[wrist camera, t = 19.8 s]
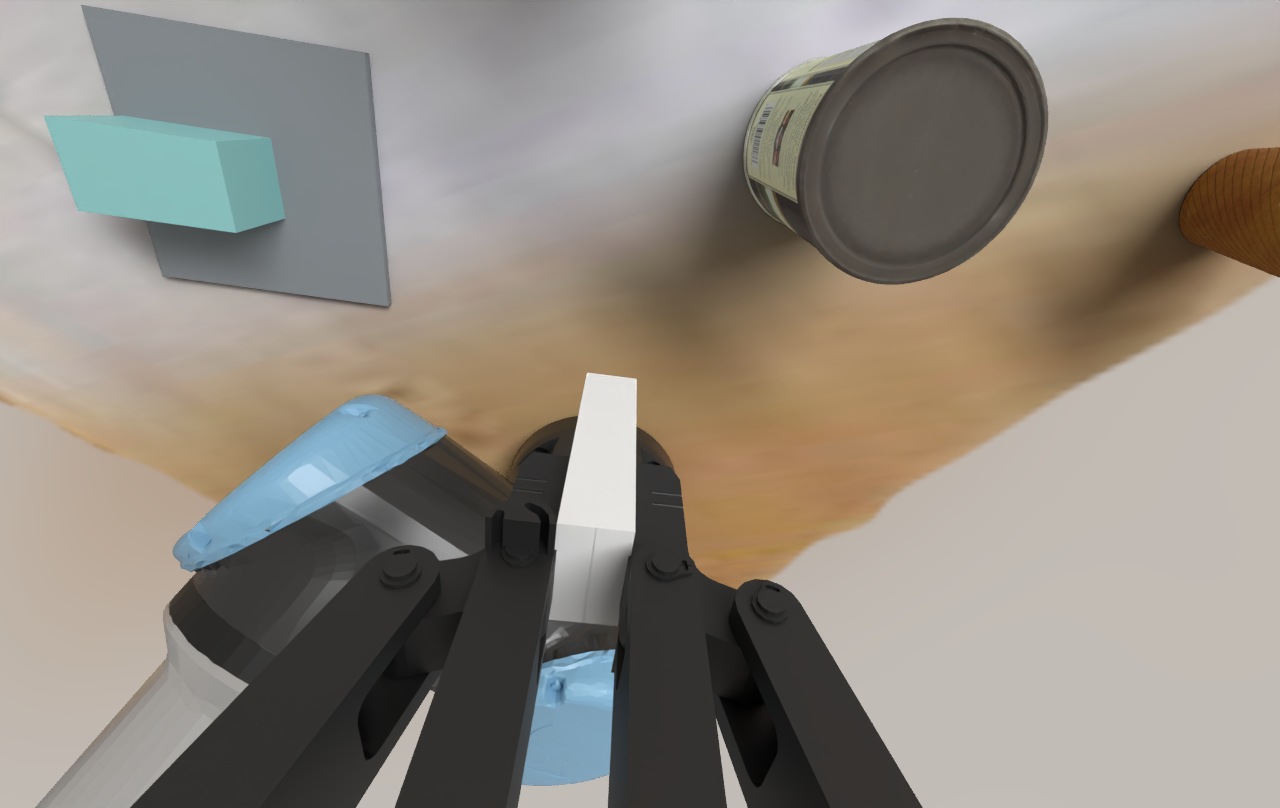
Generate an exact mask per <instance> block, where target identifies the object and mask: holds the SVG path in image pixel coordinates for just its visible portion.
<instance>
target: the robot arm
mask: <svg viewBox="0 0 1280 808" xmlns="http://www.w3.org/2000/svg"><path fill="white" fill-rule="evenodd" d="M636 398H637V379H633V378H625V377H617V376H610V375H602V374H594V373H587V376H586V381H585V386H584V390H583V395H582V400H581V405H580V410H579V415H578V416H577V417H571V418H566V419H563V420H559V421H556V422H554V423H551V424H549V425H547V426H545V427H544V428H542V429H540V430H539V431H537V432H536V433H535V434H533V435H532V436H531V437H530V438H529V439H528V440H527V441H526V442H525V443H524V444H523V446H522V447H521V449H520V450H519V452H518V454H517V456H516V458H515V460H514V463H513V466H512V469H511V471H510V474H509V478H508V479H506V478H505V477H504V476H502V475H501V474H499V473H498V472H497V471H495V470H494V469H492V468H491V467H490V466H488V465H487V464H486V463H484V462H483V461H481V460H480V459H479V458H477V457H476V456H474V455H473V454H472V453H470V452H469V451H467V450H466V449H465V448H463V447H462V446H461V445H459V444H458V443H456V442H455V441H454V440H452V439H451V438H449V437H448V436H447V435H445V434H447V433H448V431H447V430H445V429H444V428H443V427H435V426H434V425H432V424H430V423H429V422H427V421H426V420H424V419H423V418H421V417H420V416H418V415H417V414H415V413H414V412H412V411H410V410H409V409H407V408H406V407H404V406H403V405H401V404H400V403H398V402H397V401H395V400H393V399H391V398H389V397H385V396H382V395H364V396H360V397H356V398H354V399H352V400H350V401H348V402H346V403H344V404H343V405H341V406H340V407H338V408H337V409H335V410H334V411H332V412H331V413H330V414H328V415H327V416H326V417H324V418H323V419H321V420H320V421H319V422H318V423H316V424H315V425H314V426H312V427H311V428H310V429H308V430H307V431H306V432H304V433H303V434H302V435H301V436H299V437H298V438H297V439H295V440H294V441H293V442H292V443H290V444H289V445H288V446H287V447H285V448H284V449H283V450H282V451H280V452H279V453H278V454H277V455H275V456H274V457H273V458H272V459H270V460H269V461H268V462H267V463H266V464H264V465H263V466H262V467H261V468H259V469H258V470H257V471H256V472H255V473H253V474H252V475H251V476H250V477H249V478H247V479H246V480H245V481H244V482H243V483H242V484H240V485H239V486H238V487H237V488H236V489H234V490H233V491H232V492H231V493H230V494H229V495H227V496H226V497H225V498H224V499H223V500H222V501H220V502H219V503H218V504H217V505H216V506H215V507H214V508H213V509H212V510H210V512H208V513H207V514H206V516H205V517H204V518H203V519H201V520H200V521H199V522H198V523H197V524H196V526H195V527H194V528H193V529H192V530H190V531H188V532H187V533H186V534H184V535H183V536H182V537H181V538H180V539H179V540H178V541H177V543H176V544H175V546H174V548H173V555H174V557H175V558H176V559H177V560H179V561H180V566H181V568H183V569H186V570H188V571H190V572H192V571H196V574H195V575H194V576H193V577H192V578H191V579H190V580H189V581H188V583H186V585H185V586H184V587H183V588H182V589H181V590H180V591H179V592H178V593H177V594H176V595H175V597H174V598H173V599H172V600H171V601H170V602H169V604H167V606H166V608H165V609H164V612H163V622H164V629H165V635H166V642H167V649H168V653H167V657H166V659H165V660H164V662H163V663H162V664H161V665H160V666H159V667H158V668H157V670H156V671H155V672H154V673H153V674H152V675H151V676H150V677H149V679H148V680H147V681H146V682H145V683H144V684H143V685H142V687H141V688H140V689H139V690H138V691H137V692H136V693H135V695H134V696H133V697H132V698H131V699H130V700H129V701H128V702H127V704H126V705H125V706H124V707H123V708H122V709H121V710H120V712H119V713H118V714H117V715H116V716H115V717H114V718H113V720H112V721H111V722H110V723H109V724H108V725H107V726H106V728H105V729H104V730H103V731H102V732H101V733H100V734H99V736H98V737H97V738H96V739H95V740H94V741H93V742H92V743H91V745H90V746H89V747H88V748H87V749H86V750H85V751H84V753H83V754H82V755H81V756H80V757H79V758H78V759H77V761H76V762H75V763H74V764H73V765H72V766H71V767H70V768H69V770H68V771H67V772H66V773H65V774H64V775H63V776H62V778H61V779H60V780H59V781H58V782H57V783H56V784H55V786H54V787H53V788H52V789H51V790H50V791H49V793H48V794H47V795H46V796H45V797H44V798H43V799H42V800H41V801H40V803H39V804H38V805H37V806H36V807H35V808H356V806H357V805H358V803H359V802H360V800H361V798H362V797H363V795H364V794H365V792H366V790H367V789H368V787H369V786H370V784H371V783H372V781H373V779H374V778H375V776H376V775H377V773H378V771H379V770H380V768H381V767H382V765H383V764H384V762H385V760H386V759H387V757H388V756H389V754H390V752H391V751H392V749H393V748H394V746H395V745H396V743H397V741H398V740H399V738H400V736H401V735H402V733H403V732H404V730H405V729H406V727H407V725H408V724H409V722H410V721H411V719H412V718H413V716H414V714H415V713H416V711H417V709H418V708H419V706H420V705H421V703H422V701H423V700H424V698H425V697H426V695H427V694H428V692H429V690H432V691H434V692H435V694H434V697H433V700H432V703H431V705H430V708H429V711H428V714H427V717H426V720H425V722H424V725H423V728H422V731H421V734H420V737H419V740H418V742H417V745H416V748H415V751H414V754H413V757H412V760H411V763H410V765H409V769H408V771H407V774H406V777H405V780H404V783H403V786H402V788H401V791H400V794H399V797H398V800H397V803H396V805H395V808H517V807H518V801H519V795H520V790H521V785H533V786H551V785H563V784H573V783H578V782H584V781H588V780H593V779H596V778H600V777H603V776H606V775H609V796H608V808H727V804H726V796H725V789H724V781H723V772H722V764H721V756H720V748H719V740H718V732H717V725H716V719H717V721H718V724H719V727H720V730H721V733H722V736H723V739H724V741H725V744H726V747H727V749H728V753H729V756H730V758H731V761H732V764H733V767H734V770H735V772H736V775H737V778H738V781H739V784H740V787H741V789H742V792H743V795H744V798H745V801H746V803H747V806H748V808H922V806H921V804H920V803H919V801H918V799H917V798H916V796H915V794H914V793H913V791H912V789H911V788H910V786H909V784H908V783H907V781H906V779H905V778H904V776H903V774H902V773H901V771H900V769H899V768H898V766H897V764H896V762H895V761H894V759H893V757H892V756H891V754H890V753H889V751H888V749H887V747H886V746H885V744H884V742H883V741H882V739H881V737H880V736H879V734H878V732H877V731H876V729H875V727H874V726H873V724H872V723H871V721H870V719H869V717H868V716H867V714H866V712H865V711H864V709H863V707H862V706H861V704H860V702H859V701H858V699H857V697H856V696H855V694H854V692H853V691H852V689H851V687H850V686H849V684H848V682H847V680H846V679H845V677H844V676H843V674H842V672H841V670H840V669H839V667H838V665H837V664H836V662H835V660H834V659H833V657H832V655H831V654H830V652H829V650H828V649H827V647H826V645H825V644H824V642H823V640H822V639H821V637H820V635H819V634H818V632H817V631H816V629H815V627H814V625H813V624H812V622H811V620H810V619H809V617H808V615H807V614H806V612H805V611H804V609H803V607H802V605H801V604H800V602H799V601H798V600H797V599H796V597H795V596H794V595H793V594H792V593H791V592H790V591H788V590H787V589H785V588H784V587H783V586H781V585H779V584H777V583H774V582H771V581H768V580H758V579H754V580H751V581H747V582H744V583H743V584H742V585H741V586H740V587H739V588H738V589H737V590H736V589H734V588H731V587H728V586H726V585H723V584H720V583H718V582H716V581H714V580H712V579H710V578H708V577H707V576H705V575H704V574H702V573H701V572H700V571H699V570H698V569H697V568H696V566H695V563H694V561H693V560H692V559H691V558H690V557H689V553H688V547H687V538H686V529H685V520H684V511H683V502H682V497H681V495H682V494H681V485H680V479H679V478H678V477H677V475H676V474H675V471H674V468H673V465H672V463H671V460H670V458H669V456H668V455H667V453H666V452H665V450H664V449H663V448H662V446H661V445H660V444H659V443H658V442H657V441H656V440H655V439H654V438H653V437H651V436H650V435H649V434H647V433H646V432H645V431H643V430H641V429H640V428H638V427H636Z"/></svg>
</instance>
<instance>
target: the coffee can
mask: <svg viewBox="0 0 1280 808" xmlns="http://www.w3.org/2000/svg"><path fill="white" fill-rule="evenodd" d="M1047 131H1048V105H1047V97H1046V93H1045V88H1044V84H1043V80H1042V78H1041V75H1040V73H1039V70H1038V68H1037V66H1036V65H1035V63H1034V61H1033V59H1032V58H1031V56H1030V55H1029V53H1028V52H1027V51H1026V50H1025V49H1024V48H1023V46H1022V45H1021V44H1020V43H1019V42H1018V41H1017V40H1015V39H1014V38H1013V37H1012V36H1011V35H1009V34H1008V33H1007V32H1005V31H1003V30H1001V29H999V28H997V27H995V26H993V25H991V24H988V23H985V22H982V21H979V20H973V19H968V18H943V19H937V20H930V21H925V22H922V23H918V24H915V25H912V26H909V27H907V28H904V29H902V30H900V31H897V32H895V33H893V34H891V35H889V36H887V37H885V38H884V39H882V40H879V41H876V42H873V43H870V44H867V45H864V46H860V47H857V48H854V49H851V50H848V51H845V52H842V53H839V54H835V55H832V56H829V57H824V58H819V59H815V60H811V61H807V62H805V63H803V64H801V65H799V66H798V67H795V68H793V69H792V70H790V71H789V72H787V73H786V74H785V75H783V76H782V77H781V78H780V79H779V80H777V81H776V82H775V83H774V84H773V85H772V86H771V88H770V89H769V90H768V91H767V92H766V93H765V95H764V96H763V98H762V99H761V100H760V102H759V104H758V105H757V107H756V108H755V111H754V113H753V115H752V118H751V120H750V123H749V126H748V129H747V133H746V137H745V143H744V154H743V160H744V173H745V177H746V180H747V183H748V186H749V189H750V191H751V193H752V195H753V197H754V198H755V200H756V202H757V203H758V204H759V206H760V207H761V208H762V209H763V210H764V211H765V212H766V213H767V214H768V215H770V216H771V217H772V218H773V219H775V220H776V221H778V222H780V223H782V224H784V225H786V226H787V227H788V228H790V229H791V230H792V231H794V232H795V233H796V234H798V235H799V236H801V237H802V238H803V239H805V240H806V241H807V242H809V243H810V244H811V245H813V246H814V247H816V248H817V249H818V251H819V252H820V253H821V254H822V255H823V256H824V257H825V258H826V259H827V260H828V261H829V262H831V263H832V264H833V265H834V266H836V267H837V268H838V269H840V270H842V271H843V272H845V273H847V274H849V275H851V276H853V277H855V278H858V279H861V280H864V281H867V282H872V283H877V284H905V283H912V282H916V281H921V280H925V279H928V278H932V277H934V276H937V275H939V274H942V273H945V272H947V271H949V270H951V269H953V268H955V267H956V266H958V265H960V264H962V263H963V262H965V261H967V260H968V259H970V258H971V257H973V256H974V255H975V254H977V253H978V252H979V251H980V250H982V249H983V248H984V247H985V246H986V245H987V244H988V243H989V242H990V241H992V240H993V239H994V238H995V237H996V236H997V235H998V234H999V233H1000V232H1001V231H1002V230H1003V229H1004V228H1005V226H1006V225H1007V224H1008V223H1009V221H1010V220H1011V219H1012V217H1013V216H1014V215H1015V213H1016V212H1017V210H1018V209H1019V207H1020V205H1021V204H1022V203H1023V201H1024V199H1025V198H1026V196H1027V194H1028V192H1029V190H1030V189H1031V187H1032V185H1033V182H1034V180H1035V178H1036V175H1037V173H1038V170H1039V167H1040V164H1041V161H1042V158H1043V154H1044V149H1045V144H1046V138H1047Z"/></svg>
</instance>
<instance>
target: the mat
mask: <svg viewBox="0 0 1280 808" xmlns="http://www.w3.org/2000/svg"><path fill="white" fill-rule="evenodd" d="M81 7H82V10H83V13H84V17H85V20H86V23H87V27H88V30H89V33H90V37H91V40H92V43H93V47H94V50H95V53H96V56H97V60H98V63H99V66H100V70H101V73H102V76H103V80H104V83H105V86H106V90H107V93H108V96H109V99H110V103H111V106H112V109H113V113H114V116H122V115H123V116H129V117H136V118H142V119H149V120H156V121H162V122H169V123H175V124H182V125H188V126H195V127H201V128H208V129H215V130H221V131H228V132H234V133H241V134H247V135H254V136H260V137H267V138H271V142H272V148H273V153H274V159H275V164H276V170H277V175H278V181H279V187H280V192H281V198H282V203H283V209H284V214H285V219H282V220H278V221H275V222H272V223H268V224H265V225H261V226H258V227H255V228H251V229H248V230H245V231H241V232H238V233H233V232H226V231H219V230H212V229H205V228H198V227H190V226H183V225H176V224H169V223H162V222H155V221H147V220H146V222H147V225H148V228H149V232H150V235H151V238H152V242H153V245H154V248H155V252H156V255H157V258H158V261H159V265H160V268H161V271H162V275H163V276H166V277H174V278H181V279H189V280H196V281H203V282H211V283H218V284H226V285H233V286H240V287H248V288H255V289H263V290H270V291H277V292H285V293H292V294H300V295H307V296H314V297H322V298H329V299H337V300H344V301H351V302H359V303H366V304H374V305H381V306H389V305H391V295H390V283H389V272H388V261H387V250H386V239H385V228H384V217H383V205H382V194H381V183H380V172H379V161H378V150H377V139H376V127H375V116H374V105H373V94H372V83H371V72H370V61H369V54H368V53H363V52H357V51H351V50H345V49H339V48H333V47H328V46H322V45H316V44H310V43H304V42H298V41H292V40H286V39H280V38H274V37H268V36H262V35H256V34H251V33H245V32H239V31H233V30H227V29H221V28H215V27H209V26H203V25H197V24H191V23H185V22H179V21H173V20H168V19H162V18H156V17H150V16H144V15H138V14H132V13H126V12H120V11H114V10H108V9H102V8H96V7H90V6H85V5H81Z"/></svg>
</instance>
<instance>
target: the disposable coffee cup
mask: <svg viewBox="0 0 1280 808" xmlns="http://www.w3.org/2000/svg"><path fill="white" fill-rule="evenodd" d="M1179 222H1180V229H1181V231H1182V234H1183V235H1184V236H1185V238H1186V239H1187V240H1189V241H1190V242H1192V243H1194V244H1197V245H1200V246H1202V247H1205V248H1207V249H1210V250H1212V251H1215V252H1217V253H1220V254H1222V255H1224V256H1227V257H1230V258H1232V259H1234V260H1237V261H1239V262H1241V263H1244V264H1247V265H1249V266H1252V267H1255V268H1257V269H1259V270H1262V271H1264V272H1267V273H1269V274H1272V275H1275V276H1277V277H1280V148H1279V147H1275V148H1260V149H1247V150H1243V151H1240V152H1237V153H1234V154H1232V155H1230V156H1228V157H1226V158H1224V159H1222V160H1221V161H1219V162H1218V163H1216V164H1215V165H1213V166H1212V167H1211V168H1210V169H1209V170H1207V171H1206V172H1205V173H1204V174H1203V175H1202V176H1201V177H1200V178H1199V179H1198V180H1197V181H1196V183H1195V184H1194V185H1193V187H1192V188H1191V190H1190V191H1189V193H1188V194H1187V196H1186V198H1185V200H1184V202H1183V205H1182V208H1181V211H1180V218H1179Z"/></svg>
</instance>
